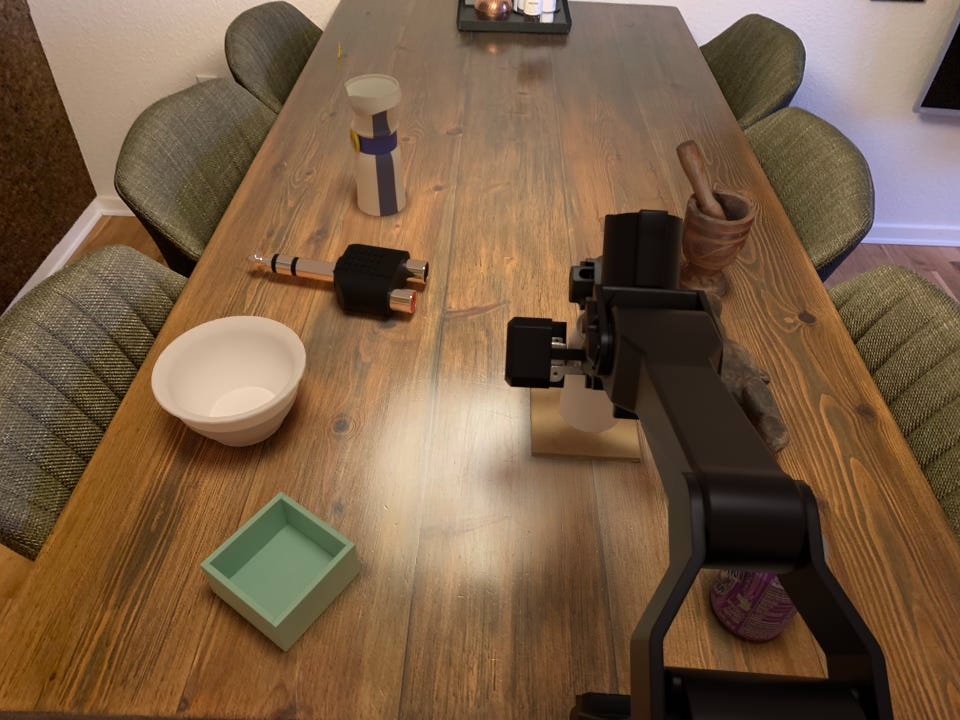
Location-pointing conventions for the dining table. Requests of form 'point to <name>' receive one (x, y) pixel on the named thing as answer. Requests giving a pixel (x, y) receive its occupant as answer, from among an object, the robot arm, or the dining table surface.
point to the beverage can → (753, 602)
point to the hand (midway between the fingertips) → (597, 358)
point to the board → (577, 434)
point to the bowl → (231, 378)
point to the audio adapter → (357, 276)
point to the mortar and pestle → (710, 226)
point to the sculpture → (750, 386)
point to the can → (584, 396)
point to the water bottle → (376, 143)
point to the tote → (282, 569)
